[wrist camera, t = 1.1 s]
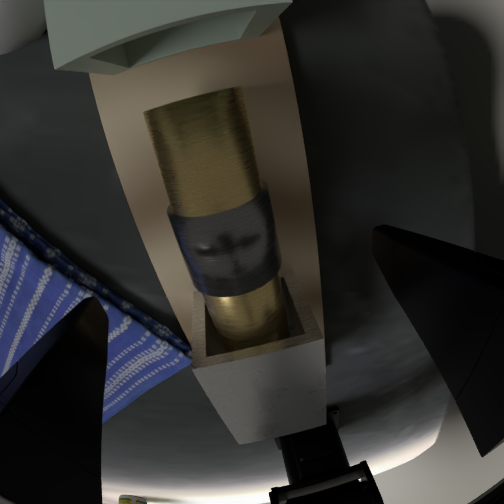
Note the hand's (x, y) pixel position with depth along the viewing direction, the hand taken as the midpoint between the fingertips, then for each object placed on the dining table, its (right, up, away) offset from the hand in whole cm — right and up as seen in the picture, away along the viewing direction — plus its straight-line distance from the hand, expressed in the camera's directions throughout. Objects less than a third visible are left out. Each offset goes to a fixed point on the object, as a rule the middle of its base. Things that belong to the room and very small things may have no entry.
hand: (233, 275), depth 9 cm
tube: (-15, +19, -6) cm, 25 cm away
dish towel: (-17, -3, +7) cm, 18 cm away
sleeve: (+1, -4, +9) cm, 10 cm away
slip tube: (0, 0, +5) cm, 5 cm away
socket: (-3, +11, 0) cm, 11 cm away
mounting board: (-1, +3, +5) cm, 6 cm away
